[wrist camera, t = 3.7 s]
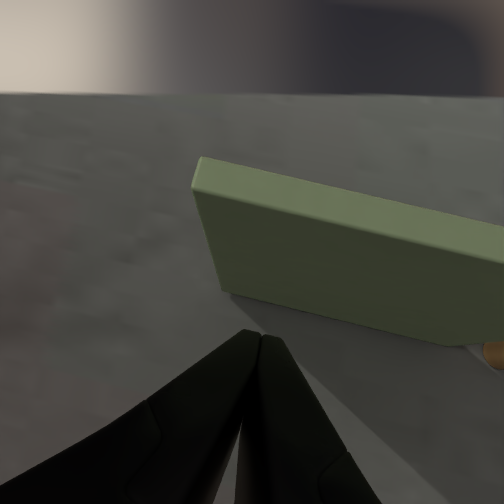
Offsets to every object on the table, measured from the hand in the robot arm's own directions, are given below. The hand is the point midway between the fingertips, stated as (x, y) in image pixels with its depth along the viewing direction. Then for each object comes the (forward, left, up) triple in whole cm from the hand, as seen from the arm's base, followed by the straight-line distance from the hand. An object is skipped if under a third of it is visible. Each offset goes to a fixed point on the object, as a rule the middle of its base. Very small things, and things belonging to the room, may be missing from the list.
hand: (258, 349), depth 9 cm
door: (+4, +2, -12) cm, 13 cm away
